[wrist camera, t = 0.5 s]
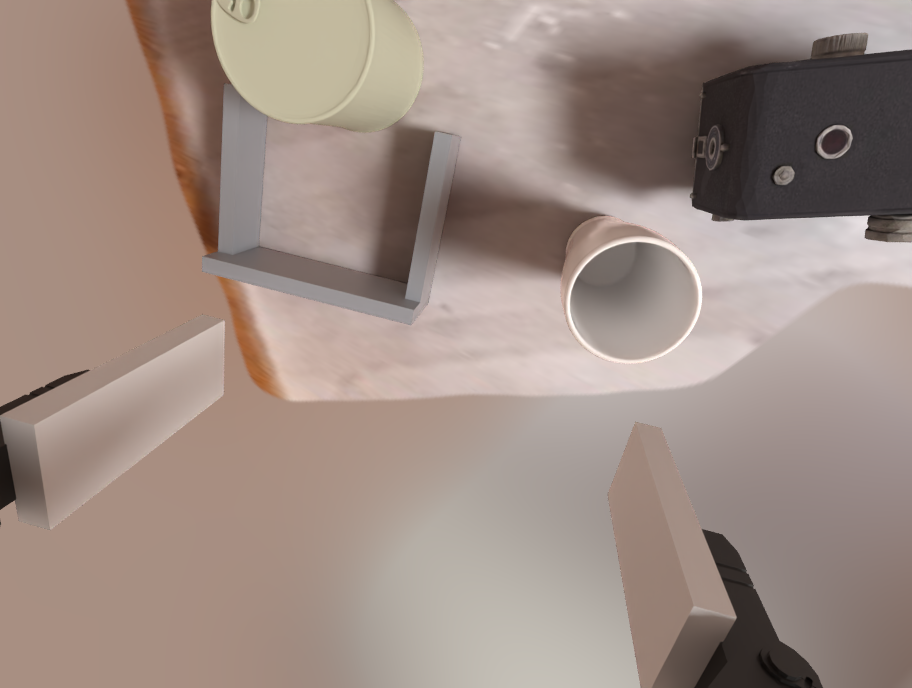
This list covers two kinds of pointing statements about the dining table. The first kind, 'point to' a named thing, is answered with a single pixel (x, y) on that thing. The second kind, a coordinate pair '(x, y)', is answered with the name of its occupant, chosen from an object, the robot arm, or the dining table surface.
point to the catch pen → (304, 275)
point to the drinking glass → (627, 291)
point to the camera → (810, 139)
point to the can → (321, 59)
